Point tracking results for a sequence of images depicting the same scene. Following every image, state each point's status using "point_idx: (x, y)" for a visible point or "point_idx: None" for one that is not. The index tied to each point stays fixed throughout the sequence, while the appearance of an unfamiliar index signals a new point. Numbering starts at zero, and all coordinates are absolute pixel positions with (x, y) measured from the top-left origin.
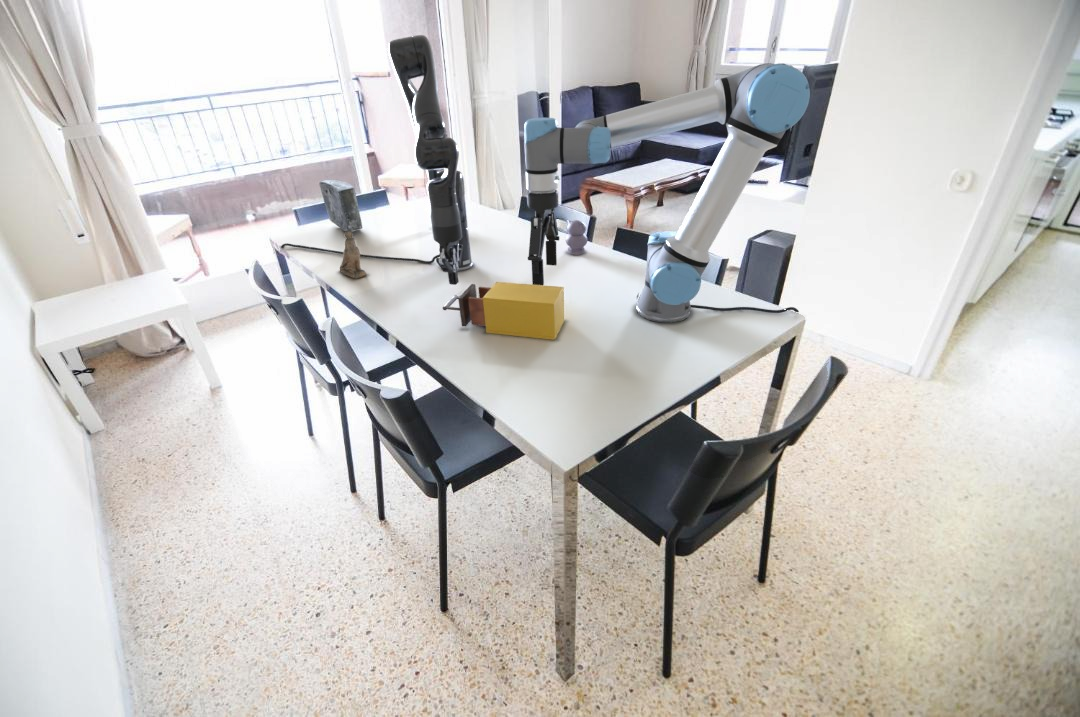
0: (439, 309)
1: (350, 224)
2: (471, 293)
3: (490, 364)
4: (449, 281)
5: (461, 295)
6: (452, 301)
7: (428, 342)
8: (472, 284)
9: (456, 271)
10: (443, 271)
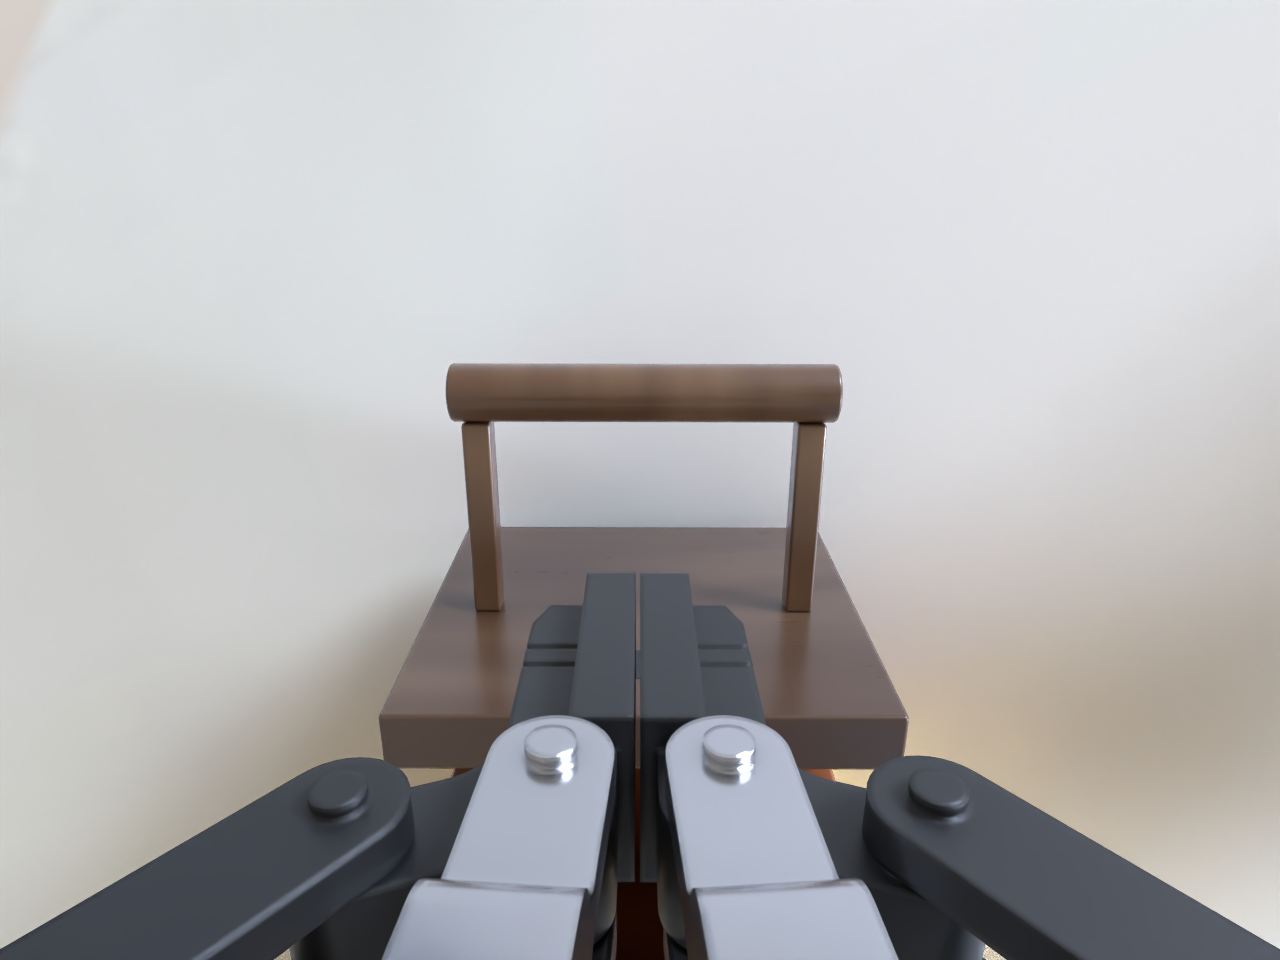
0: (881, 54)
1: None
2: None
3: (51, 888)
4: (531, 632)
5: (464, 732)
6: (661, 420)
7: (127, 300)
8: (885, 737)
9: (651, 875)
10: (299, 783)
